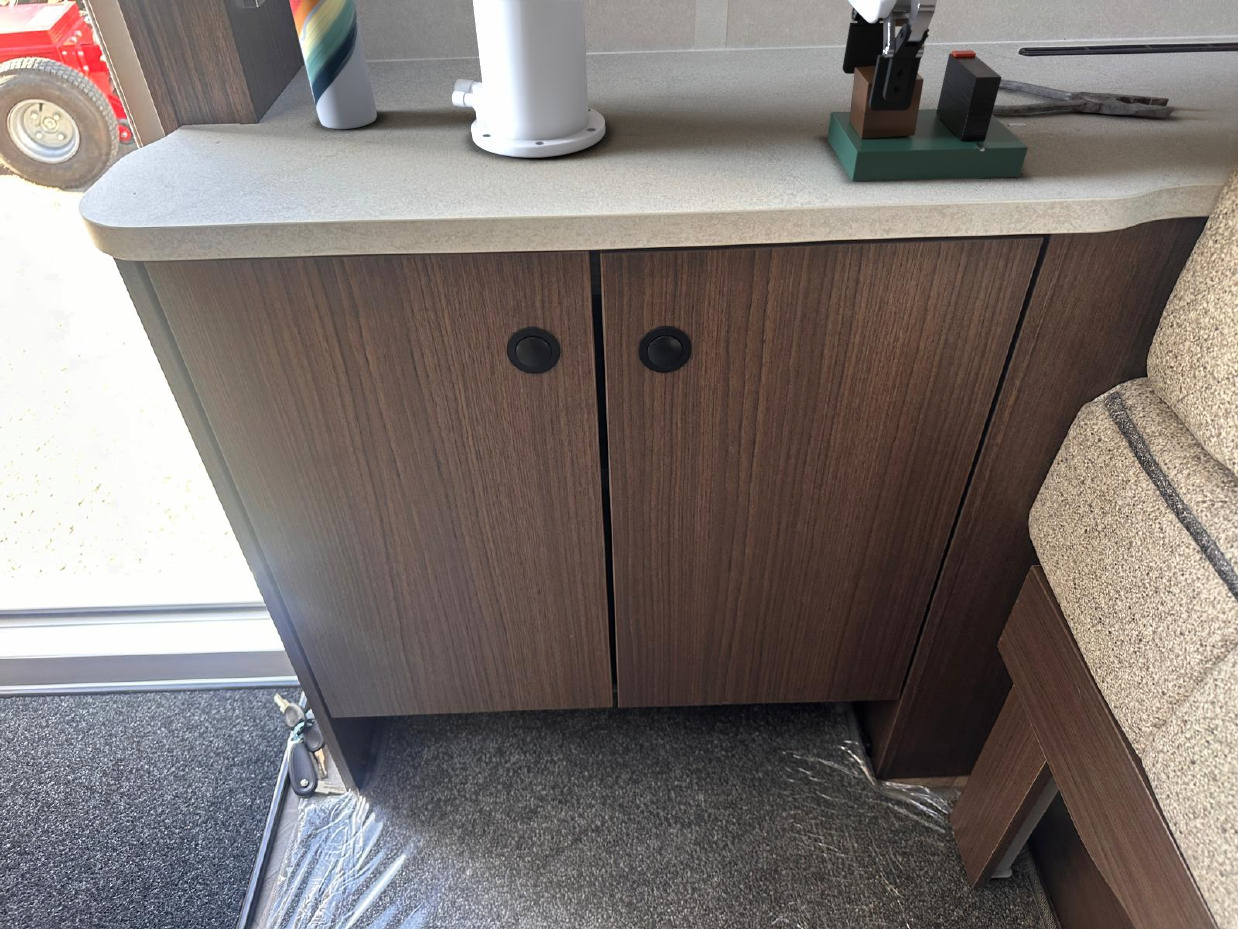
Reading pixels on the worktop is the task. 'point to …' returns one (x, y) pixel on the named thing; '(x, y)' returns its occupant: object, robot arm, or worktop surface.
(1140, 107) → the pliers
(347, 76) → the lotion bottle
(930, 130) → the green base
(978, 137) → the block
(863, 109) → the block
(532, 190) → the worktop surface
